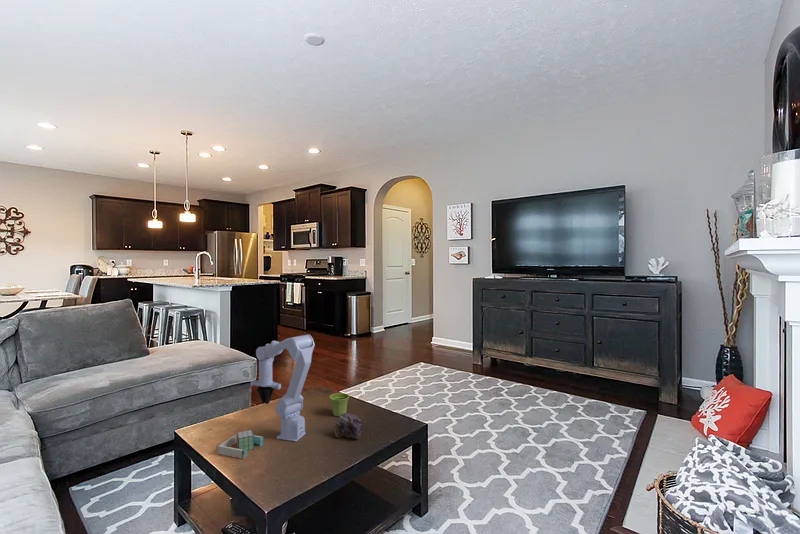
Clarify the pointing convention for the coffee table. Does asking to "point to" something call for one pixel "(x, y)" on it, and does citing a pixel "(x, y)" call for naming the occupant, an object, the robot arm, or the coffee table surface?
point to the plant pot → (339, 403)
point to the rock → (348, 426)
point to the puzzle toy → (245, 440)
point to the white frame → (235, 452)
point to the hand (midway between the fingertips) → (265, 403)
